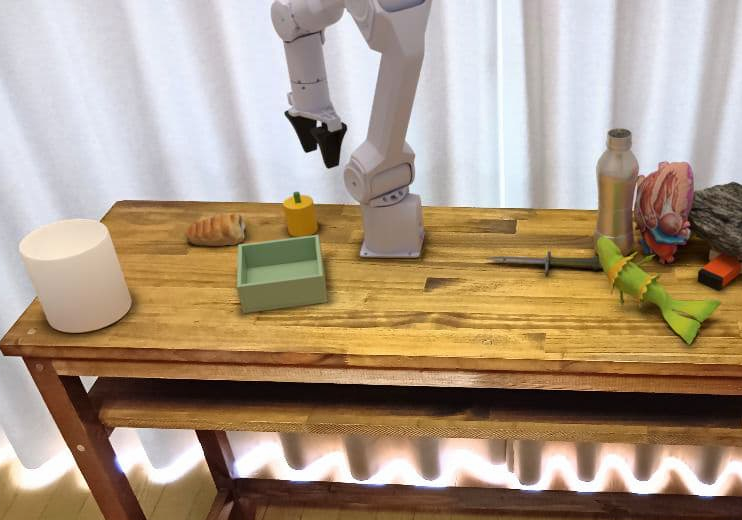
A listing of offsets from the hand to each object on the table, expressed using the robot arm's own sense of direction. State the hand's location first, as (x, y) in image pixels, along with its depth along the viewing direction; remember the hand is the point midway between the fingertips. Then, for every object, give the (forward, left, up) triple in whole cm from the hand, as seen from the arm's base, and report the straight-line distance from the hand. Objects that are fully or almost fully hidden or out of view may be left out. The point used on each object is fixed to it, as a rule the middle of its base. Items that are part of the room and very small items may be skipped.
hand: (321, 158), depth 150 cm
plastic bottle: (-48, +14, -10) cm, 51 cm away
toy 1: (-54, +36, -3) cm, 65 cm away
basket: (+2, +24, -9) cm, 26 cm away
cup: (+29, +31, -10) cm, 44 cm away
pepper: (+3, +7, -9) cm, 12 cm away
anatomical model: (-56, +10, +4) cm, 57 cm away
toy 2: (-61, +23, -8) cm, 66 cm away
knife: (-37, +16, -8) cm, 41 cm away
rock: (-62, +9, 0) cm, 63 cm away
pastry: (+16, +10, -10) cm, 21 cm away
